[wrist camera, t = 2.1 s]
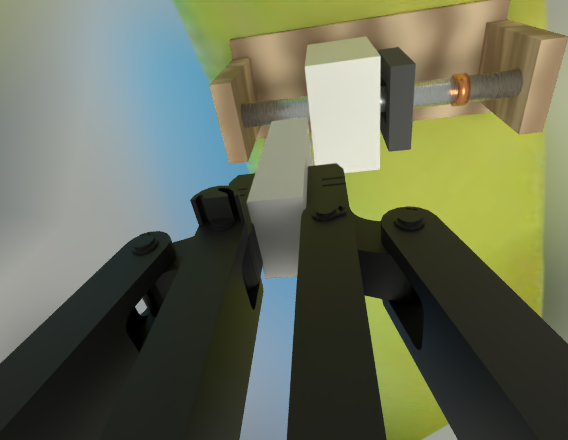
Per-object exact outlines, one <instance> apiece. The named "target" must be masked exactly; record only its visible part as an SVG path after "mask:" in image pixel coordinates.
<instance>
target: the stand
mask: <svg viewBox="0 0 568 440" xmlns="http://www.w3.org/2000/svg"><path fill="white" fill-rule="evenodd" d="M509 3H510V0H483V1H477V2H470V3H464V4H457V5H451V6H444V7H438V8H431V9H425V10H418V11H412V12H405V13H399V14H392V15H386V16H379V17H373V18H367V19H360V20H354V21H347V22H341V23H334V24H328V25H321V26H315V27H308V28H302V29H295V30H289V31H282V32H276V33H269V34H263V35H256V36H250V37H243V38H237V39H231V40H230V46H231V51H232V56H233V60H232V61H231V62H230V63H229V65H228V66H227V67H226V68H225V69H224V70H223V71H222V72H221V73H220V74H219V75H218V76H217V78H216V79H215V80H214V81H213V82H212V83H211V84H210V85H209V86H210V89H211V94H212V98H213V102H214V105H215V109H216V113H217V117H218V121H219V125H220V129H221V133H222V136H223V141H224V144H225V149H226V152H227V156H228V160H229V164H233V163H242V162H248V160H249V158H250V155H251V152H252V149H253V146H254V144H255V141H256V138H263V137H267V135H268V131H269V128H270V125H267V126H259V127H250V128H245V127H244V125H243V122H242V118H241V105H242V104H246V103H254V102H262V101H270V100H278V99H286V98H294V97H301V96H308V93H307V84H306V75H305V60H306V52H307V45H310V44H317V43H324V42H330V41H337V40H344V39H351V38H358V37H364V36H367V38H368V39H369V41H370V42H371V43H372V45H373V46H374V48H375V49H376V50H377V52H378V50H380V49H387V48H394V47H399V48H400V49H401V50H402V51H403V52H404V53H405V54H406V55H408V56H409V57H410V58H411V59H412V60H413V61H414V62H415V63H416V69H415V82H420V81H428V80H436V79H444V78H451V77H452V76H453V75H454V74H461V73H467V74H468V75H476V74H484V73H491V72H499V71H507V70H515V69H519V70H520V71H521V72H522V75H523V86H522V90H521V92H520V94H519V95H518V96H516V97H509V98H500V99H492V100H483V101H474V102H468V103H467V104H466V105H463V106H455V107H453V106H451V104H448V105H440V106H431V107H423V108H414V109H413V120H412V121H416V120H425V119H434V118H443V117H452V116H461V115H470V114H479V113H488V112H490V111H491V112H493V113H494V114H495V115H496V116H497V117H499V118H500V119H501V120H502V121H503V122H505V123H506V124H507V125H508V126H509V127H511V128H512V129H513V130H514V131H516V132H517V133H518V134H528V133H537V132H543V128H544V125H545V121H546V117H547V114H548V110H549V106H550V103H551V99H552V95H553V92H554V88H555V84H556V81H557V77H558V73H559V70H560V66H561V63H562V59H563V55H564V52H565V48H566V44H567V40H568V36H565V35H561V34H558V33H554V32H550V31H547V30H543V29H539V28H536V27H532V26H528V25H525V24H521V23H517V22H514V21H510V20H506V19H507V14H508V8H509ZM308 126H309V132H312V131H311V122H310V121H308Z"/></svg>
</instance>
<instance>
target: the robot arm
mask: <svg viewBox="0 0 568 440" xmlns="http://www.w3.org/2000/svg"><path fill="white" fill-rule="evenodd" d="M190 201H191V203H192V206H193V209H194V212H195V215H196V218H197V221H198V224H199V227H198V229H197V231H196V234H195V236H193V237H191V238H188V239H184V240H181V241H177V242H174V243H172V241H171V238H170V236H169V235H168V234H167V233H164V232H160V231H156V232H147V233H144V234H141V235H139V236H138V237H136V238H134V239H133V240H131V241H129V242H128V243H127V244H126V245H125V246H123V247H122V248H121V249H120V250H119V251H118V252H117V253H116V254H115V255H114V256H113V257H112V258H111V259H110V260H109V261H108V262H107V263H106V264H105V265H103V267H101V268H100V269H99V270H98V271H97V272H96V273H95V274H94V275H93V276H92V277H91V278H90V279H89V280H88V281H87V282H86V283H85V284H83V285H82V286H81V287H80V288H79V289H78V290H77V291H76V292H75V293H74V294H73V295H72V296H71V297H70V298H69V299H68V300H67V301H66V302H65V303H64V304H62V306H60V307H59V308H58V309H57V310H56V311H55V312H54V313H53V314H52V315H51V316H50V317H49V318H48V319H47V320H46V321H45V322H44V323H43V324H42V325H40V326H39V327H38V328H37V329H36V330H35V331H34V332H33V333H32V334H31V335H30V336H29V337H28V338H27V339H26V340H25V341H24V342H23V343H21V344H20V346H18V347H17V348H16V349H15V350H14V351H13V352H12V353H11V354H10V355H9V356H8V357H7V358H6V359H5V360H4V361H3V362H1V363H0V440H239V438H240V431H241V426H242V419H243V414H244V407H245V400H246V395H247V388H248V383H249V377H250V370H251V364H252V358H253V352H254V346H255V340H256V333H257V327H258V321H259V315H260V309H261V303H262V297H263V284H262V281H261V277H260V276H261V271H262V266H263V270H264V274H265V278H266V279H268V278H281V277H296V276H297V289H296V304H295V321H294V336H293V352H292V367H291V383H290V399H289V414H288V430H287V440H386V433H385V427H384V420H383V414H382V407H381V401H380V394H379V388H378V381H377V375H376V368H375V361H374V355H373V348H372V342H371V335H370V329H369V322H368V316H367V309H366V303H365V296H370V297H375V298H380V299H382V301H383V305H384V307H385V309H386V310H387V312H388V314H389V316H390V318H391V320H392V321H393V323H394V325H395V327H396V329H397V330H398V332H399V334H400V336H401V338H402V339H403V341H404V343H405V345H406V347H407V348H408V350H409V352H410V354H411V356H412V358H413V359H414V361H415V363H416V365H417V367H418V368H419V370H420V372H421V374H422V376H423V377H424V379H425V381H426V383H427V385H428V387H429V388H430V390H431V392H432V394H433V396H434V397H435V399H436V401H437V403H438V405H439V406H440V408H441V410H442V412H443V414H444V415H445V417H446V419H447V421H448V423H449V425H450V426H451V428H452V430H453V432H454V434H455V435H456V437H457V439H458V440H568V344H567V343H566V342H565V341H564V340H563V339H562V338H561V337H560V336H559V335H558V334H557V333H556V332H555V331H554V330H553V329H552V328H551V327H550V326H549V325H548V324H547V323H546V322H545V321H544V320H543V319H542V318H541V317H540V316H539V315H538V314H537V313H536V312H535V311H534V310H533V309H532V308H530V307H529V306H528V305H527V304H526V303H525V302H524V301H523V300H522V299H521V298H520V297H519V296H518V295H517V294H516V293H515V292H514V291H513V290H512V289H511V288H510V287H509V286H508V285H507V284H506V283H505V282H504V281H503V280H502V279H501V278H500V277H499V276H498V275H497V274H496V273H495V272H494V271H493V270H491V269H490V268H489V267H488V266H487V265H486V264H485V263H484V262H483V261H482V260H481V259H480V258H479V257H478V256H477V255H476V254H475V253H474V252H473V251H472V250H471V249H470V248H469V247H468V246H467V245H466V244H465V243H464V242H463V241H462V240H461V239H460V238H459V237H458V236H457V235H456V234H455V233H454V232H452V231H451V230H450V229H449V228H448V227H447V226H446V225H445V224H444V223H443V222H442V221H441V220H440V219H439V218H438V217H437V216H436V215H435V214H433V213H432V212H430V211H428V210H425V209H422V208H418V207H400V208H396V209H393V210H390V211H388V212H387V213H386V214H384V215H383V217H382V220H381V221H372V220H367V219H363V218H360V217H358V216H357V215H355V214H354V213H353V212H352V211H351V210H350V207H349V202H348V195H347V189H346V182H345V176H344V169H343V168H342V167H340V166H339V165H338V164H337V163H333V164H324V165H316V166H313V158H312V150H311V142H310V134H309V126H308V118H307V117H301V118H293V119H286V120H278V121H272V122H271V125H270V128H269V131H268V135H267V138H266V141H265V144H264V148H263V151H262V154H261V157H260V160H259V164H258V167H257V170H256V173H254V174H246V175H239V176H237V177H236V178H235V179H233V180H232V181H231V182H230V183H229V186H216V187H211V188H208V189H206V190H203V191H201V192H199V193H198V194H196V195H195V196H194V197H193V198H192V199H191V200H190ZM364 295H365V296H364ZM142 298H143V300H144V302H145V304H146V306H147V309H146V310H145V311H144V312H143V313H142V314H141V315H140V314H139V313H138V311H137V310H136V308H135V306H136V305H137V303H138V302H139V301H140V300H141V299H142Z"/></svg>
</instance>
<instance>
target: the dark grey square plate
mask: <svg viewBox="0 0 568 440" xmlns="http://www.w3.org/2000/svg"><path fill="white" fill-rule="evenodd" d="M378 53H379V55H380V56H381V60H380V87H381V86H387V97H386V112H380V130H381V133H382V135H383V138H384V140H385V143H386V145H387V148H388V151H399V150H409V149H411V137H412V120H413V103H414V86H415V69H416V63H415V62H414V61H413V60H412V59H411V58H410V57H409V56H408V55H406V54H405V53H404V52H403V51H402V50H401V49H400V48H399V47H394V48H387V49H380V50H378Z"/></svg>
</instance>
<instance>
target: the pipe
mask: <svg viewBox="0 0 568 440" xmlns="http://www.w3.org/2000/svg"><path fill="white" fill-rule="evenodd" d="M522 86H523V75H522V72H521V71H520V70H519V69H515V70H507V71H499V72H491V73H484V74H476V75H468V74H467V73H461V74H454V75H453V76H452V77H451V78H444V79H436V80H428V81H420V82H415V86H414V103H413V109H414V108H423V107H431V106H440V105H448V104H451V106H453V107H455V106H463V105H466V104H467V103H468V102H474V101H483V100H492V99H500V98H509V97H516V96H518V95H519V94H520V92H521V90H522ZM386 97H387V86H381V87H380V112H386ZM301 117H307V118H308V121H310V112H309V103H308V96H301V97H294V98H286V99H278V100H270V101H262V102H254V103H246V104H242V105H241V118H242V122H243V125H244V127H245V128H250V127H259V126H267V125H271V122H272V121H278V120H286V119H293V118H301Z"/></svg>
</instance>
